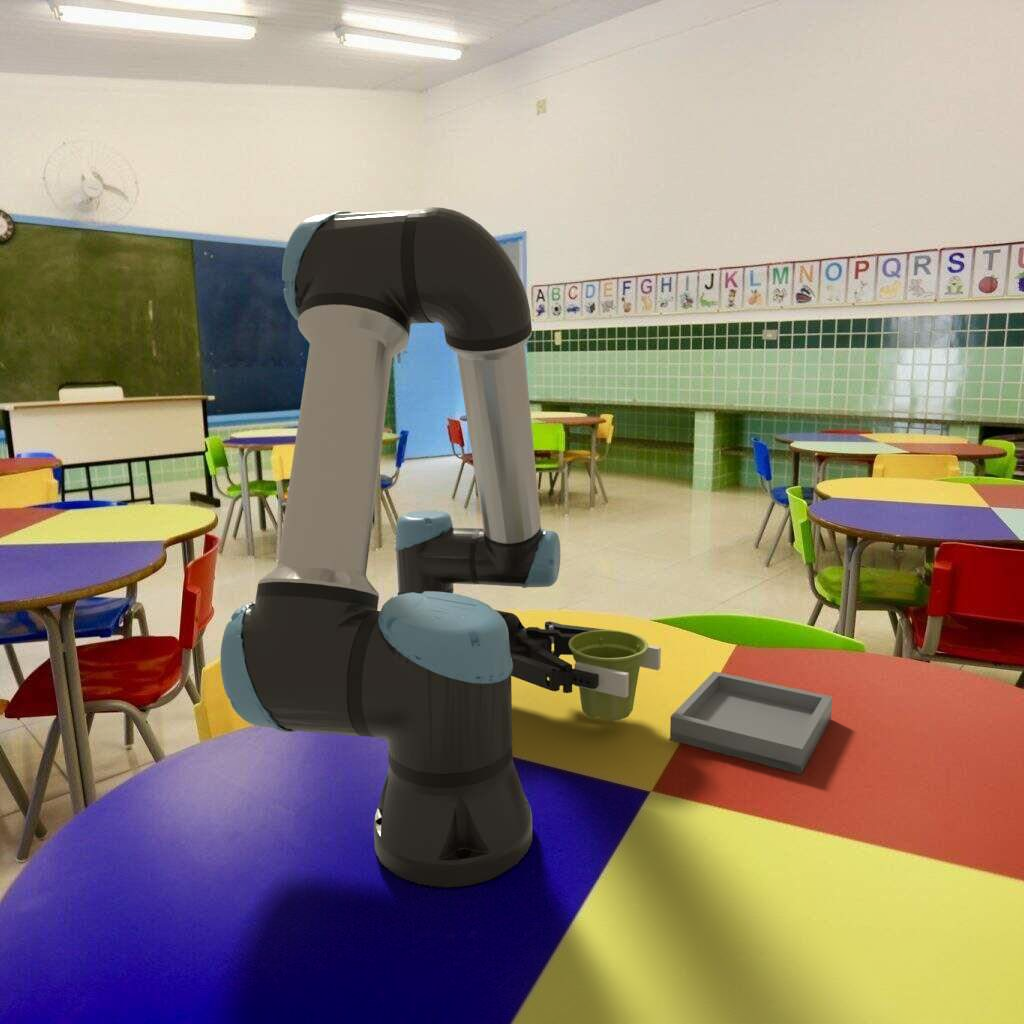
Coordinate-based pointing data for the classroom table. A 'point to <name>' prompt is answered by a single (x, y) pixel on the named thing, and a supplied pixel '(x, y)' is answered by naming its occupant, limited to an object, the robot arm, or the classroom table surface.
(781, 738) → the tray
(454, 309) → the robot arm
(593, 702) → the plant pot
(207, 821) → the classroom table surface
